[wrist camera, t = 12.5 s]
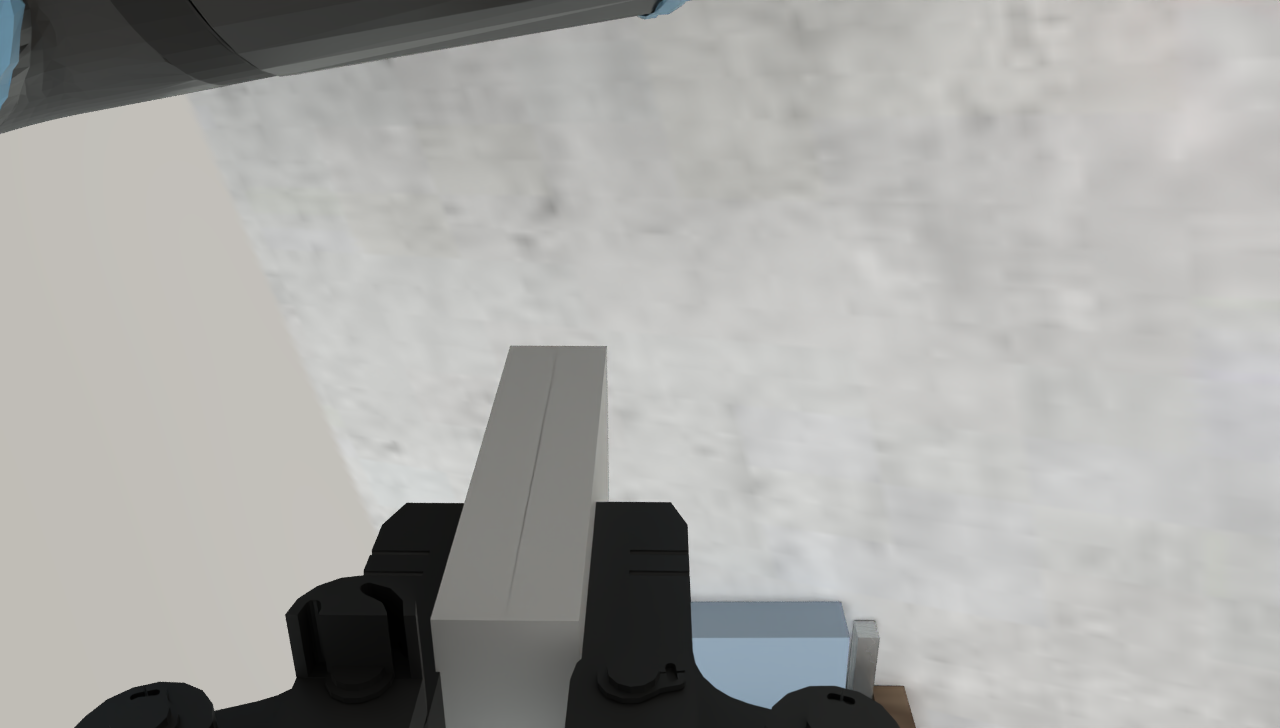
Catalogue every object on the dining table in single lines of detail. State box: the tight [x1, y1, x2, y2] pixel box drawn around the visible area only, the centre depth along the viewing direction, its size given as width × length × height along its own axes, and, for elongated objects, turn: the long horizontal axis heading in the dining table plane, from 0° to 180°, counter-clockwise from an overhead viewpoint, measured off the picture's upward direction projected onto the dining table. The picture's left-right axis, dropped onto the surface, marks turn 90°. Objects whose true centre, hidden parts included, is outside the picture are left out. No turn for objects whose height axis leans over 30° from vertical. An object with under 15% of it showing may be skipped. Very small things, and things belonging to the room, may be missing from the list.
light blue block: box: [691, 602, 850, 709], centre depth 52 cm, size 10×9×3 cm
